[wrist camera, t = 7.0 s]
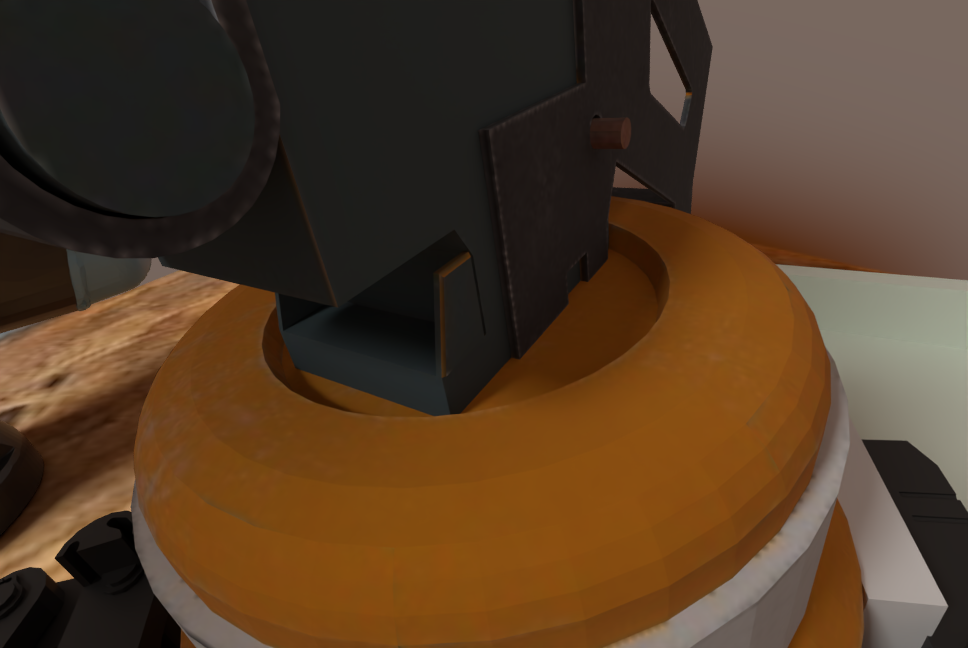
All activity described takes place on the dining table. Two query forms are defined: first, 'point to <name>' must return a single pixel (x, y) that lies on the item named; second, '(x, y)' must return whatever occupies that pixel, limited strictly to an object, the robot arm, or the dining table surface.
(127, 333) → the dining table surface
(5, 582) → the robot arm
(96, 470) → the dining table surface
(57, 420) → the dining table surface
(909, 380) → the tray
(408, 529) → the canister
